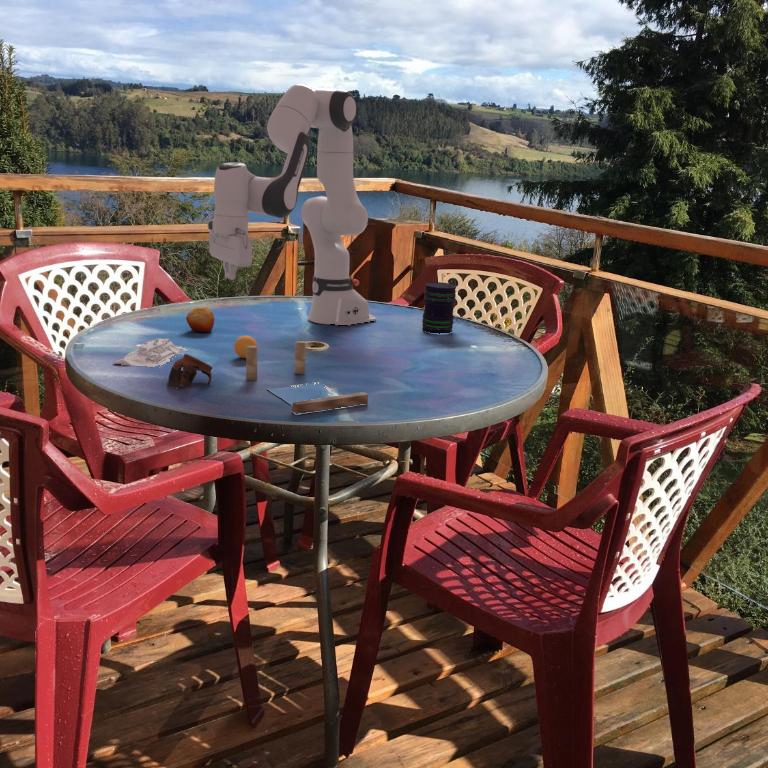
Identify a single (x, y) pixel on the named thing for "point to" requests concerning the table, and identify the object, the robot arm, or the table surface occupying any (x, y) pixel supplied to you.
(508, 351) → the table surface
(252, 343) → the ball
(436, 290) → the storage jar
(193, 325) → the fruit
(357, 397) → the stopper wall
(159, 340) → the terrain model
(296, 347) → the post
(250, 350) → the post
